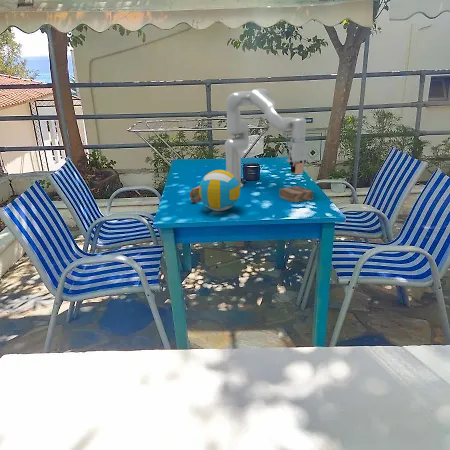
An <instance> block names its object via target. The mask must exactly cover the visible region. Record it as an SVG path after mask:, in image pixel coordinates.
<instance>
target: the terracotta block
mask: <svg viewBox="0 0 450 450" xmlns="http://www.w3.org/2000/svg"><path fill="white" fill-rule="evenodd" d="M294 166H295V173H292V172H291V171H290V174H294V175H300V174H303V173H304V165H303V163H301V162H300V161H296V162H295V165H294Z"/></svg>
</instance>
